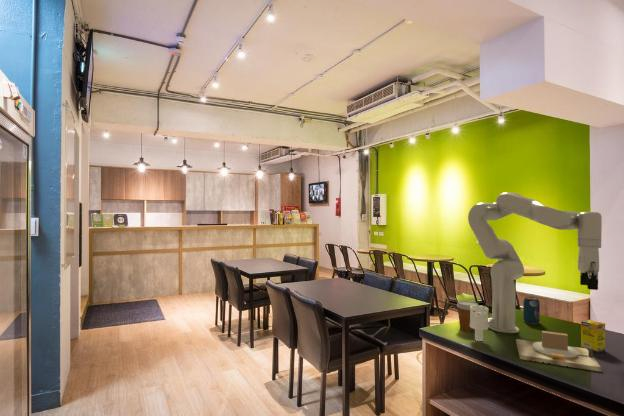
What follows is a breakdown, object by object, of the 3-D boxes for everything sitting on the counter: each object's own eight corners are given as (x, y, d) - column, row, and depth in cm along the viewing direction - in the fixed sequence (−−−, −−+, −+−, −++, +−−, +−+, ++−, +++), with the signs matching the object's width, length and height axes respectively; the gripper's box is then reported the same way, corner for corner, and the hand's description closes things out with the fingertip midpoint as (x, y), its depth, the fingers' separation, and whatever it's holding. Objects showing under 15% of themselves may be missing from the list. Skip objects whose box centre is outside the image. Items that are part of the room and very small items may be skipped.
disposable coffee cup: (453, 326, 177) (453, 300, 178) (473, 326, 177) (474, 301, 177) (460, 332, 168) (461, 305, 168) (482, 333, 168) (482, 305, 168)
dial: (535, 355, 137) (535, 336, 137) (530, 342, 151) (531, 325, 151) (582, 362, 131) (582, 343, 131) (572, 348, 145) (573, 330, 145)
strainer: (474, 343, 153) (474, 306, 153) (466, 337, 160) (467, 302, 160) (491, 343, 153) (491, 306, 154) (483, 338, 160) (483, 302, 161)
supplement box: (597, 353, 145) (597, 324, 145) (580, 348, 150) (580, 320, 150) (605, 351, 147) (605, 323, 147) (588, 346, 153) (588, 319, 153)
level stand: (520, 359, 137) (520, 346, 137) (516, 342, 155) (516, 331, 155) (601, 371, 127) (601, 358, 127) (586, 352, 145) (586, 340, 145)
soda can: (539, 325, 181) (539, 300, 181) (522, 322, 185) (522, 298, 185) (539, 322, 187) (540, 297, 187) (523, 319, 191) (524, 295, 191)
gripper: (572, 241, 157) (571, 282, 157) (584, 244, 141) (583, 290, 141) (593, 242, 154) (593, 284, 154) (608, 245, 138) (608, 292, 138)
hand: (588, 287), depth 148 cm, fingers open, 9 cm apart
